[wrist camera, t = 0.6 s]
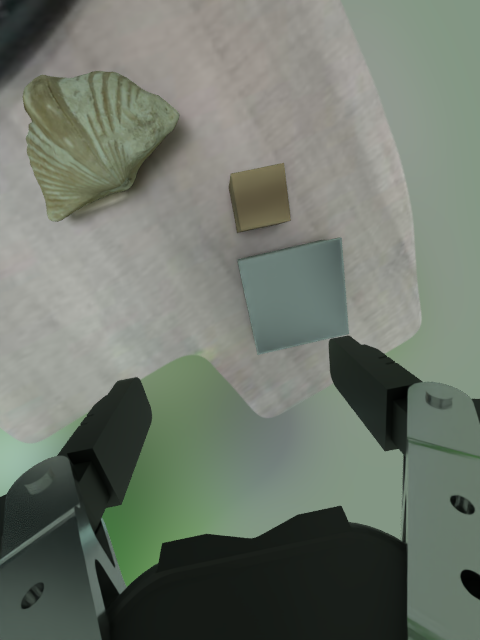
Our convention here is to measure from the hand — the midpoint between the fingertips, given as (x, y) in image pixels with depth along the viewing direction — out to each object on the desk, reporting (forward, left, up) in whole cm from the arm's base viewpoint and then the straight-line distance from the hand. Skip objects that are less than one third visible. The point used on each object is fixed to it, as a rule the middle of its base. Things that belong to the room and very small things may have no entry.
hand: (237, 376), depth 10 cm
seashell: (-16, -10, -23) cm, 29 cm away
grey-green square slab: (+3, +8, -23) cm, 24 cm away
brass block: (-8, +5, -23) cm, 24 cm away
